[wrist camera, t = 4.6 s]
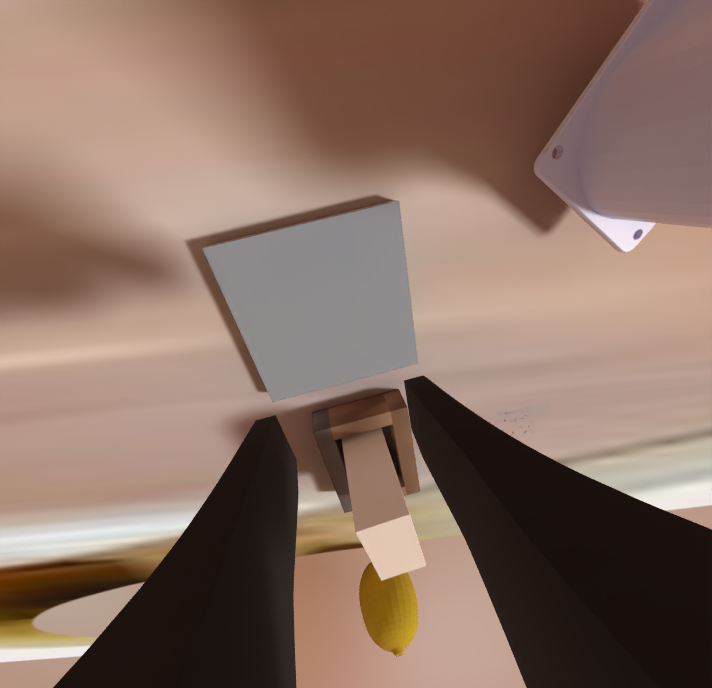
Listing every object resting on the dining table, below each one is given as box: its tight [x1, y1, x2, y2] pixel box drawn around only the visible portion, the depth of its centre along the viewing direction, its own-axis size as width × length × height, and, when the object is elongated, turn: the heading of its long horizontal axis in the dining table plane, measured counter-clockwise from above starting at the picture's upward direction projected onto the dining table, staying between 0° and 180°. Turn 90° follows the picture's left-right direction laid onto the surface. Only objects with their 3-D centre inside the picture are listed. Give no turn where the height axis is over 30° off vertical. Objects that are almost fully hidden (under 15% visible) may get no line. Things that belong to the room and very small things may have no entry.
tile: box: [202, 200, 418, 402], centre depth 17 cm, size 10×10×1 cm
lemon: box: [359, 562, 418, 656], centre depth 28 cm, size 6×6×8 cm
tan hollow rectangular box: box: [312, 390, 420, 513], centre depth 23 cm, size 7×10×2 cm
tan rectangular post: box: [341, 428, 426, 581], centre depth 20 cm, size 3×6×8 cm, turn 16°
